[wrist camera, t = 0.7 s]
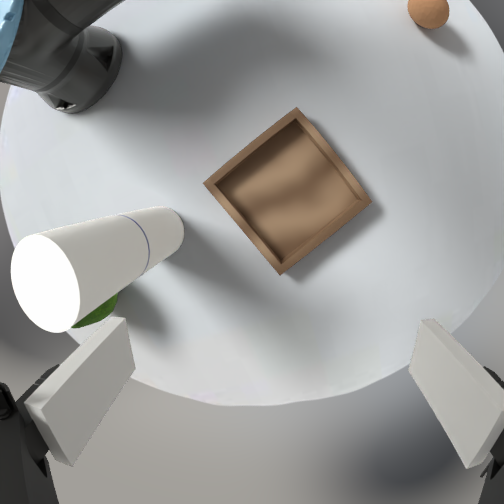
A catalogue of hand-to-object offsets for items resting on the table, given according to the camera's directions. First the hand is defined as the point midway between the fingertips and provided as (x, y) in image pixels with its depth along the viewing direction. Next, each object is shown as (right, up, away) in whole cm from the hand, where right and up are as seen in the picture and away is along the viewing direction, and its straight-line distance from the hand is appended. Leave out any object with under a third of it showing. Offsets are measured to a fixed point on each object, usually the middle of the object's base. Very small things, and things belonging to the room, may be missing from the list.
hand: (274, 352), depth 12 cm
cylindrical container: (-14, +7, +30) cm, 33 cm away
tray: (+4, +12, +27) cm, 30 cm away
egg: (+26, +41, +20) cm, 52 cm away
